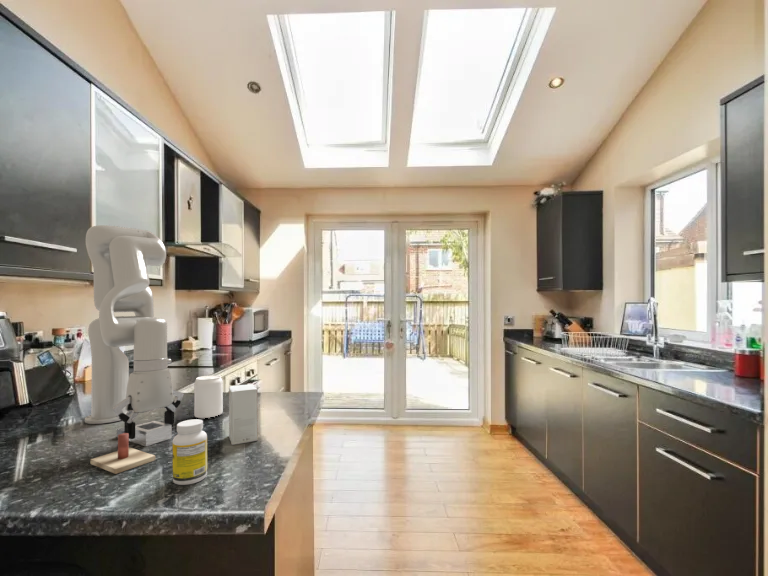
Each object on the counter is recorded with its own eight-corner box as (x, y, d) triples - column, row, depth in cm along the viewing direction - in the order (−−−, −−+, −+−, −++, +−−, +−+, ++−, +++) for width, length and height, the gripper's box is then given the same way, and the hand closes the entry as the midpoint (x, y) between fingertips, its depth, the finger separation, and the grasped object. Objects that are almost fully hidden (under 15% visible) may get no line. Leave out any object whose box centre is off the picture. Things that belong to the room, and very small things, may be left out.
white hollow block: (129, 441, 100) (129, 427, 100) (154, 433, 105) (154, 420, 105) (146, 446, 95) (146, 431, 96) (171, 438, 101) (171, 424, 101)
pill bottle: (180, 473, 80) (180, 418, 80) (211, 471, 80) (211, 417, 81) (166, 487, 73) (166, 428, 74) (200, 485, 74) (200, 426, 74)
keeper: (90, 463, 85) (90, 436, 86) (129, 451, 92) (129, 426, 92) (115, 474, 80) (116, 444, 80) (155, 460, 87) (155, 432, 87)
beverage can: (212, 420, 117) (211, 380, 117) (188, 419, 118) (188, 379, 119) (228, 412, 125) (227, 375, 125) (205, 411, 126) (205, 374, 127)
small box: (258, 441, 98) (257, 388, 98) (231, 445, 95) (231, 391, 95) (253, 431, 105) (253, 383, 105) (228, 435, 102) (228, 385, 103)
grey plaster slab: (117, 436, 103) (117, 429, 103) (140, 430, 108) (140, 423, 108) (122, 438, 101) (122, 431, 102) (146, 432, 107) (146, 424, 107)
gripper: (174, 360, 110) (174, 421, 110) (106, 370, 96) (105, 440, 95) (190, 361, 107) (190, 425, 106) (121, 372, 92) (121, 445, 91)
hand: (150, 432), depth 100 cm, fingers open, 9 cm apart
